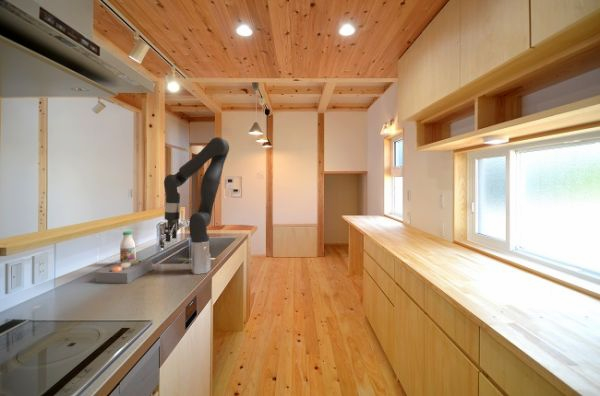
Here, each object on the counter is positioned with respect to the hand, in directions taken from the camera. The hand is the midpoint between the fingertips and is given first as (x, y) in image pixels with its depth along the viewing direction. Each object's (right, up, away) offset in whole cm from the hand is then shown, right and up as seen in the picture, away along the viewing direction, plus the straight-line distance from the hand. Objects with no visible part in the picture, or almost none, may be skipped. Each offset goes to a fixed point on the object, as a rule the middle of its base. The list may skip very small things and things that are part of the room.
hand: (171, 240), depth 149 cm
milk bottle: (-31, -17, +11) cm, 37 cm away
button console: (-21, -18, -7) cm, 28 cm away
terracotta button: (-21, -16, -13) cm, 29 cm away
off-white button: (-21, -15, -7) cm, 26 cm away
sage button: (-20, -15, 0) cm, 25 cm away
